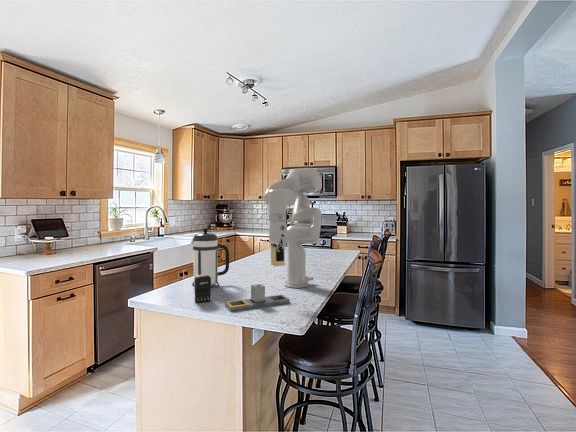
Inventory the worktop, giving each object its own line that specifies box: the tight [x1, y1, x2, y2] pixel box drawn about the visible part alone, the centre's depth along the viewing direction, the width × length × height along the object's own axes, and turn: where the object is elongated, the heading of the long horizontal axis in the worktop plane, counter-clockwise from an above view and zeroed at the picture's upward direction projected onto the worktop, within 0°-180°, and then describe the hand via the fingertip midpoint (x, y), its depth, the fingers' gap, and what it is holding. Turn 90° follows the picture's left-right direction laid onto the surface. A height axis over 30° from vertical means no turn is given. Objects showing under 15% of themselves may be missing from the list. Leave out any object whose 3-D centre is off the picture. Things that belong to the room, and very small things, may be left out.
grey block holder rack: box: [224, 294, 291, 312], centre depth 135 cm, size 26×8×2 cm, turn 116°
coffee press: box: [189, 227, 230, 288], centre depth 166 cm, size 17×16×30 cm
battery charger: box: [193, 275, 212, 303], centre depth 139 cm, size 7×4×11 cm, turn 117°
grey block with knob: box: [250, 283, 266, 303], centre depth 135 cm, size 4×4×8 cm
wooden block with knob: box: [270, 245, 286, 267], centre depth 139 cm, size 4×4×8 cm
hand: (277, 259), depth 139 cm, fingers closed on wooden block with knob, 4 cm apart
